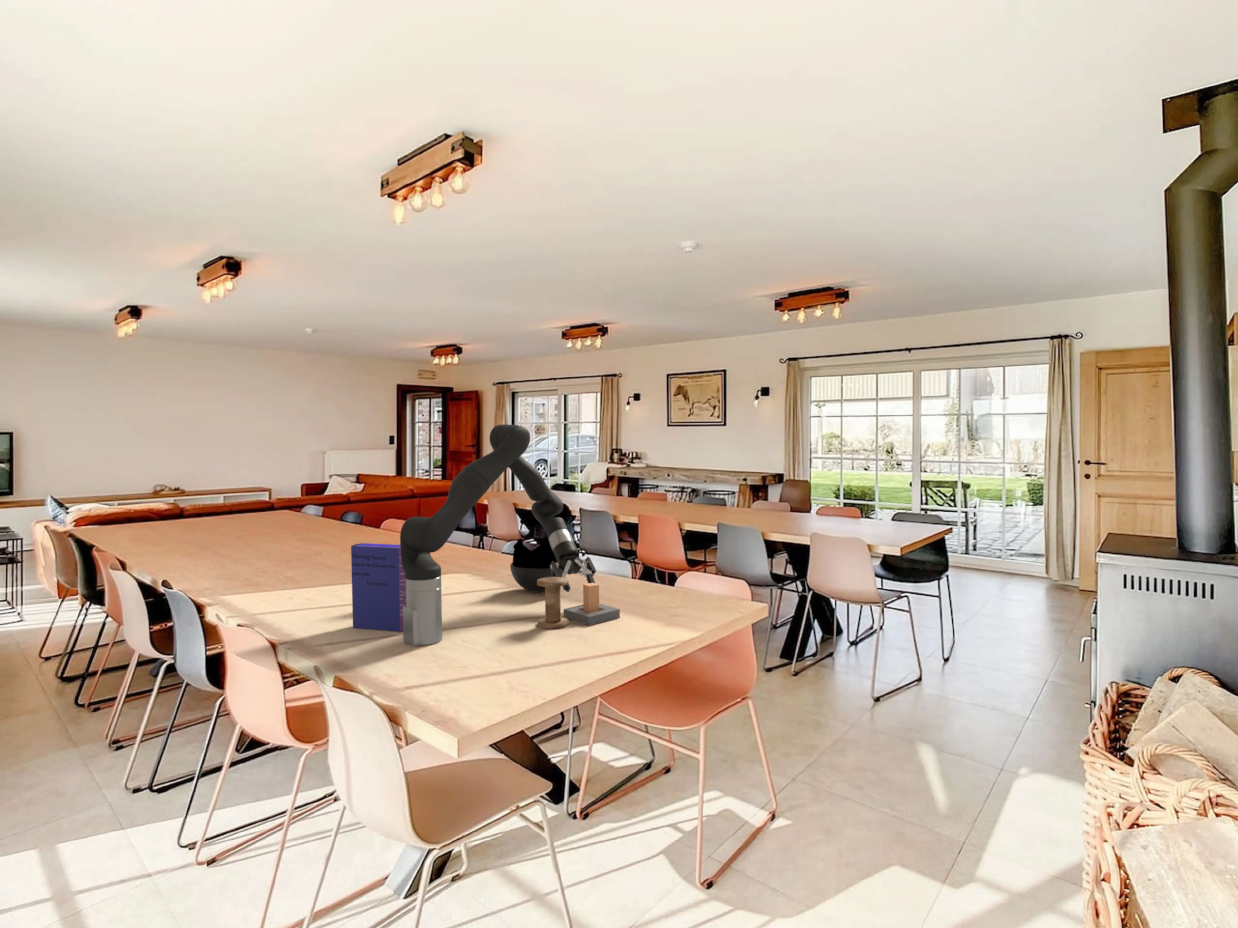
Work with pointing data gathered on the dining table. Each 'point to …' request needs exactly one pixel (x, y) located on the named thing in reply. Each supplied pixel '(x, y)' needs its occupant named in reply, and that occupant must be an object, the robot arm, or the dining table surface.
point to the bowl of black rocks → (532, 565)
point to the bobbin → (552, 603)
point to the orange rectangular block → (590, 597)
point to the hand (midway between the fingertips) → (580, 588)
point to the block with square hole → (591, 614)
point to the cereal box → (377, 587)
